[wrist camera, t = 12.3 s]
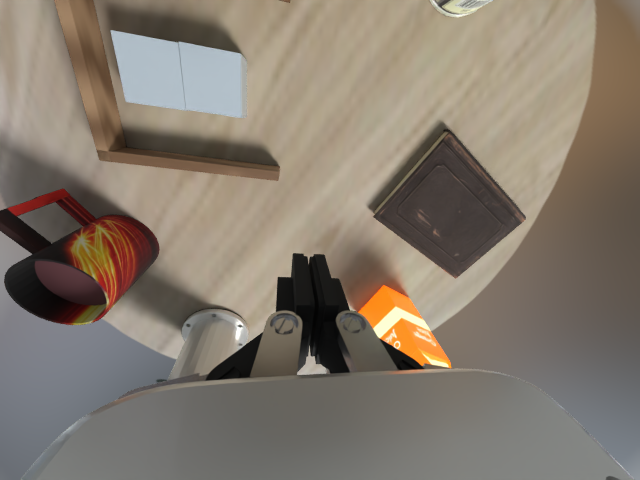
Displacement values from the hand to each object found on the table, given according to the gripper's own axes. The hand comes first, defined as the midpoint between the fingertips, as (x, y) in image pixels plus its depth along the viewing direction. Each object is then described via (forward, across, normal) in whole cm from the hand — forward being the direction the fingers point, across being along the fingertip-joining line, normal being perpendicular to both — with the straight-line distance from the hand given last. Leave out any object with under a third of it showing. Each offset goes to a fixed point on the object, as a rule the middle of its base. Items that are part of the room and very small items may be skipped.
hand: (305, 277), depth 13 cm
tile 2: (+25, +16, -10) cm, 31 cm away
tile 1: (+25, +9, -10) cm, 29 cm away
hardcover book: (+26, -27, +3) cm, 37 cm away
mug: (+26, +27, +11) cm, 39 cm away
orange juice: (+26, -21, +25) cm, 42 cm away
